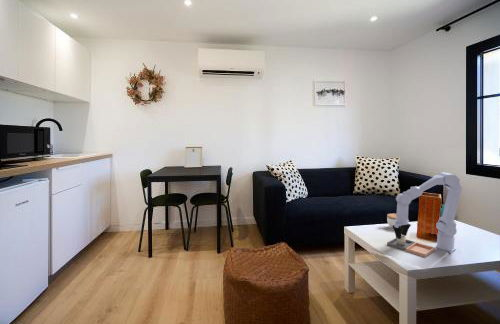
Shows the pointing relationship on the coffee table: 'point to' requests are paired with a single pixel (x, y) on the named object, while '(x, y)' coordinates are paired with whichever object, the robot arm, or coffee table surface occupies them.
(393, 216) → the lidded bowl
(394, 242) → the tray
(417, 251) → the tray
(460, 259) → the coffee table surface
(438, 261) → the coffee table surface
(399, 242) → the beige rounded cylinder
